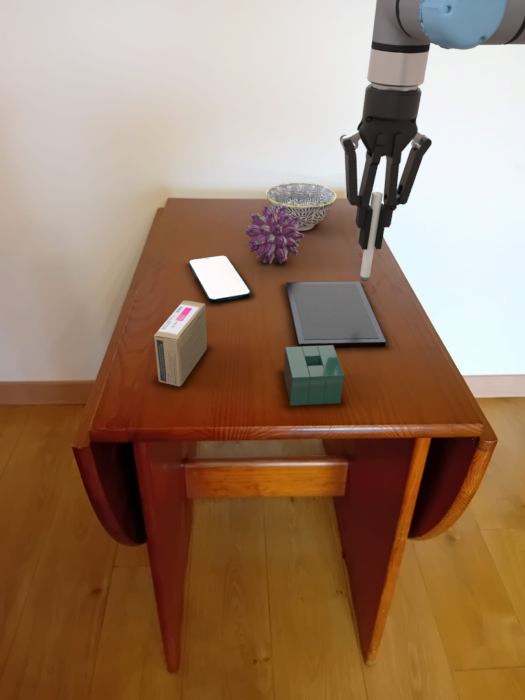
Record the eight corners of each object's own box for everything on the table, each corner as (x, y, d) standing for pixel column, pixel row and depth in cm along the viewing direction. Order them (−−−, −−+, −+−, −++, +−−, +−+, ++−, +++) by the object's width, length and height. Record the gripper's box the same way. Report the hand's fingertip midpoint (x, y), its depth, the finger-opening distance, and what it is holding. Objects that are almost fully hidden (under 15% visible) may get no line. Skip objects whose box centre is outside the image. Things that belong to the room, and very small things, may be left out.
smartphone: (251, 297, 98) (225, 258, 110) (252, 293, 97) (225, 254, 109) (209, 304, 96) (187, 264, 108) (209, 300, 95) (187, 260, 107)
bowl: (256, 233, 121) (256, 200, 117) (275, 208, 134) (276, 178, 129) (325, 243, 118) (329, 210, 113) (339, 217, 130) (342, 186, 126)
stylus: (370, 281, 90) (384, 193, 82) (364, 284, 90) (378, 196, 81) (363, 277, 91) (376, 190, 83) (357, 280, 91) (370, 193, 82)
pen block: (340, 403, 75) (344, 375, 72) (290, 405, 74) (292, 377, 71) (330, 372, 80) (333, 344, 78) (283, 374, 80) (285, 346, 77)
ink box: (186, 344, 85) (183, 298, 81) (209, 349, 85) (207, 302, 80) (156, 382, 78) (151, 334, 73) (181, 388, 77) (177, 339, 72)
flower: (243, 257, 114) (295, 240, 116) (261, 282, 105) (317, 262, 107) (231, 206, 107) (286, 189, 109) (249, 227, 98) (309, 208, 100)
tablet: (385, 346, 86) (386, 341, 85) (298, 348, 85) (298, 343, 85) (358, 286, 102) (359, 281, 102) (285, 286, 101) (285, 281, 101)
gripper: (436, 80, 77) (406, 235, 90) (335, 79, 75) (320, 236, 89) (456, 91, 71) (421, 255, 84) (347, 90, 69) (329, 257, 83)
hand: (369, 245), depth 87 cm, fingers closed on stylus, 1 cm apart
